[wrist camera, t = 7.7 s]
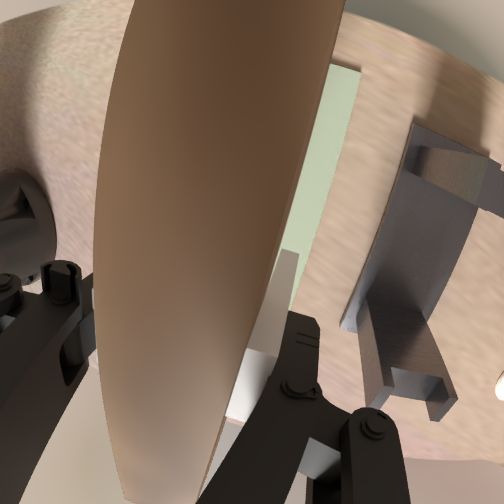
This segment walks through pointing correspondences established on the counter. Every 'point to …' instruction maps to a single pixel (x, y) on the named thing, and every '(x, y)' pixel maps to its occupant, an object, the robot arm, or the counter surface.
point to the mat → (319, 165)
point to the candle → (500, 387)
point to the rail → (195, 216)
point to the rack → (418, 267)
